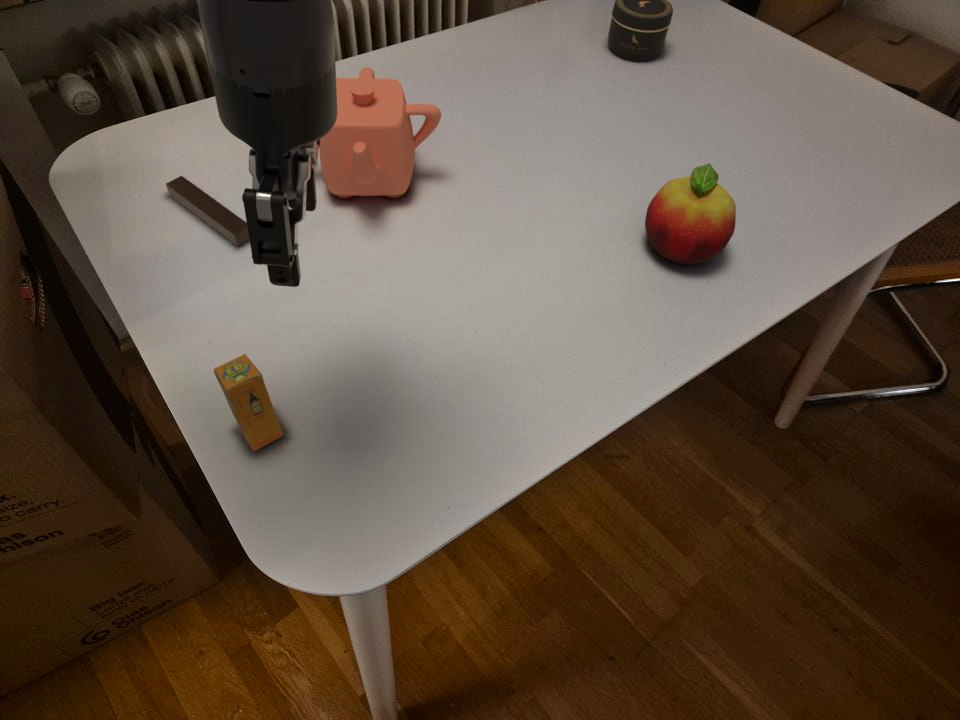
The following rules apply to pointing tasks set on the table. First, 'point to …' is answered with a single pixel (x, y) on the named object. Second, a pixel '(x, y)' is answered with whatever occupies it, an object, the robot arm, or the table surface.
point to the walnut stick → (209, 210)
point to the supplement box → (249, 401)
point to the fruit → (691, 217)
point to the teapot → (373, 138)
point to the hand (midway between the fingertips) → (294, 243)
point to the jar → (639, 28)
